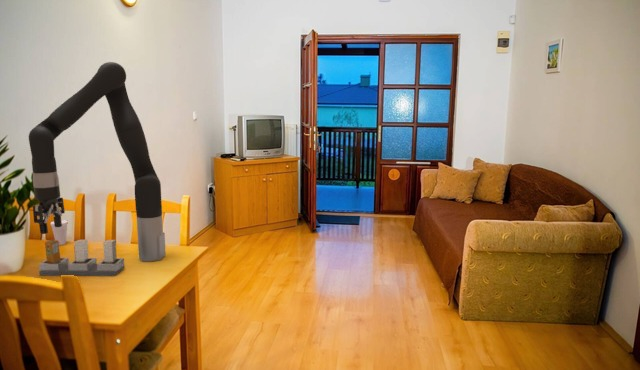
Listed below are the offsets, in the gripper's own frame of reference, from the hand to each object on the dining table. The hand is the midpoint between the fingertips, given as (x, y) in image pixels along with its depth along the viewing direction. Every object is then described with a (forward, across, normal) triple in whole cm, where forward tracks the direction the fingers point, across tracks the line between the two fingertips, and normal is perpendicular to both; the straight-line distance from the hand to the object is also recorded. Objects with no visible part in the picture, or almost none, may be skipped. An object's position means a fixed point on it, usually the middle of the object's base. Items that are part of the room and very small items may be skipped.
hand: (51, 230), depth 152 cm
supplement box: (+14, 0, 0) cm, 14 cm away
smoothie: (+15, +31, +15) cm, 38 cm away
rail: (+15, 0, -10) cm, 18 cm away
